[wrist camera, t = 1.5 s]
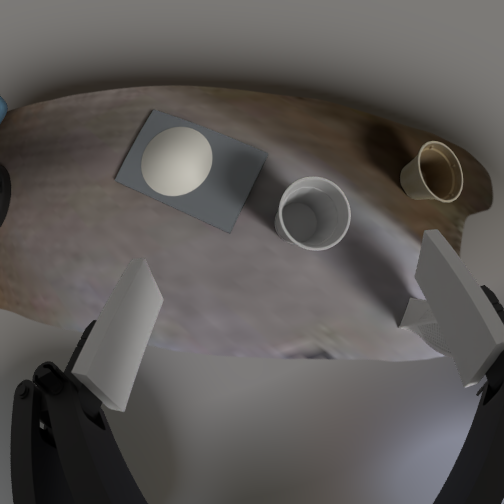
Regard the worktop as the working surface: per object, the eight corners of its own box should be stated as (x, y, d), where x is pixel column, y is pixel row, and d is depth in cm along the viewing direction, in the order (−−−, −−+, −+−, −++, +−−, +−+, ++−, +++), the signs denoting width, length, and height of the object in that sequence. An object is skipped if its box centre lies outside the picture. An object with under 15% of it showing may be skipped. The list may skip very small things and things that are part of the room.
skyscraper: (420, 343, 42) (534, 403, 14) (389, 334, 42) (510, 403, 14) (435, 301, 42) (560, 335, 14) (406, 289, 42) (542, 323, 14)
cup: (275, 190, 41) (287, 168, 29) (326, 204, 42) (356, 187, 30) (263, 243, 41) (271, 240, 29) (315, 255, 42) (342, 258, 30)
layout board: (117, 182, 41) (114, 180, 39) (155, 112, 41) (153, 108, 39) (230, 233, 41) (229, 233, 40) (267, 156, 41) (268, 153, 40)
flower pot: (399, 213, 42) (429, 207, 33) (384, 159, 42) (410, 142, 33) (438, 204, 42) (469, 197, 34) (424, 154, 42) (451, 139, 33)
